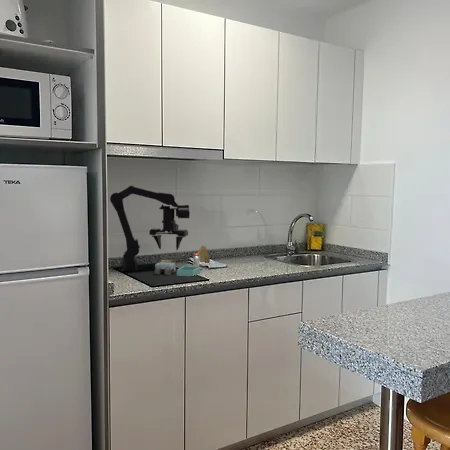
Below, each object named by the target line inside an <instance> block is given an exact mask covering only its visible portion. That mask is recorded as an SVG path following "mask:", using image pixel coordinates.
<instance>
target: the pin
mask: <svg viewBox="0 0 450 450" xmlns="http://www.w3.org/2000/svg"><path fill="white" fill-rule="evenodd" d="M199 259H200V254H199V253H197V252H196V253H193V261H194V262H192V263H193V266H192V267H200V264H199Z"/></svg>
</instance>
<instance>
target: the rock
mask: <svg viewBox="0 0 450 450" xmlns="http://www.w3.org/2000/svg"><path fill="white" fill-rule="evenodd" d="M196 253H199V254H200V259H199V261H200V262H205V263H209V262H211V260H210V259H211V258H210V254H209V251H208V249H207V247H206V246H204V245H201V247H200V248H199V249H198V251H197V252H196Z"/></svg>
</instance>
